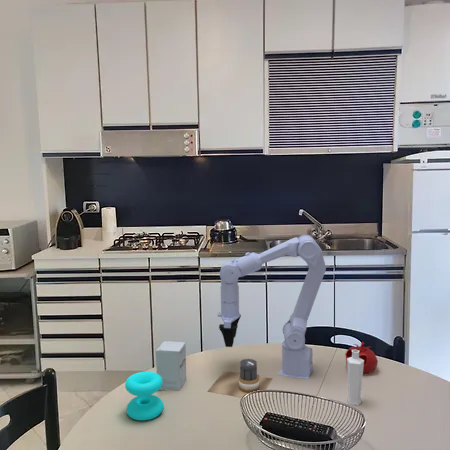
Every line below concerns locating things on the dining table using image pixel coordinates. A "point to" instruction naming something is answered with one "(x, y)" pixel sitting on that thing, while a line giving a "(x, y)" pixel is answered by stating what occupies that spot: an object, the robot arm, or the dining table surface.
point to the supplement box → (171, 364)
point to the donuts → (144, 395)
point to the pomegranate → (364, 357)
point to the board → (234, 384)
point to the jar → (249, 385)
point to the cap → (248, 369)
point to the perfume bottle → (355, 377)
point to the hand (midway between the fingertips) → (230, 341)
